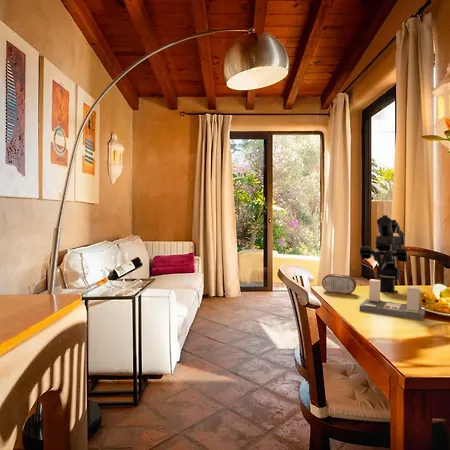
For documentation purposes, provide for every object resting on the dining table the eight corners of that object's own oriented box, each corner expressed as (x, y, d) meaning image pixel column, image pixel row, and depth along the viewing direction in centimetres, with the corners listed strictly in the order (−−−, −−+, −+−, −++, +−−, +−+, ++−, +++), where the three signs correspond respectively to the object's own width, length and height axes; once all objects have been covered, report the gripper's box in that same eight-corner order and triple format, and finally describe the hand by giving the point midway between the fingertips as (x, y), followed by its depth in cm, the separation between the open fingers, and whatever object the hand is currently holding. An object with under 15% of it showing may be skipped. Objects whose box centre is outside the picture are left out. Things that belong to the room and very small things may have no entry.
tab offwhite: (370, 298, 140) (370, 279, 140) (379, 300, 138) (380, 280, 138) (369, 300, 138) (369, 280, 137) (378, 301, 136) (378, 281, 135)
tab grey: (407, 307, 127) (408, 286, 127) (418, 309, 125) (419, 287, 125) (406, 309, 125) (407, 287, 125) (417, 311, 123) (418, 288, 123)
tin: (356, 293, 159) (356, 275, 159) (355, 295, 156) (355, 276, 156) (322, 290, 166) (322, 273, 165) (321, 292, 163) (321, 274, 162)
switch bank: (366, 303, 142) (366, 298, 142) (425, 312, 130) (425, 306, 130) (359, 310, 132) (359, 304, 132) (422, 320, 120) (423, 313, 120)
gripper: (360, 228, 156) (354, 255, 147) (407, 229, 145) (403, 259, 137) (364, 244, 163) (358, 271, 154) (409, 247, 152) (405, 275, 144)
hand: (380, 269), depth 147 cm, fingers closed
